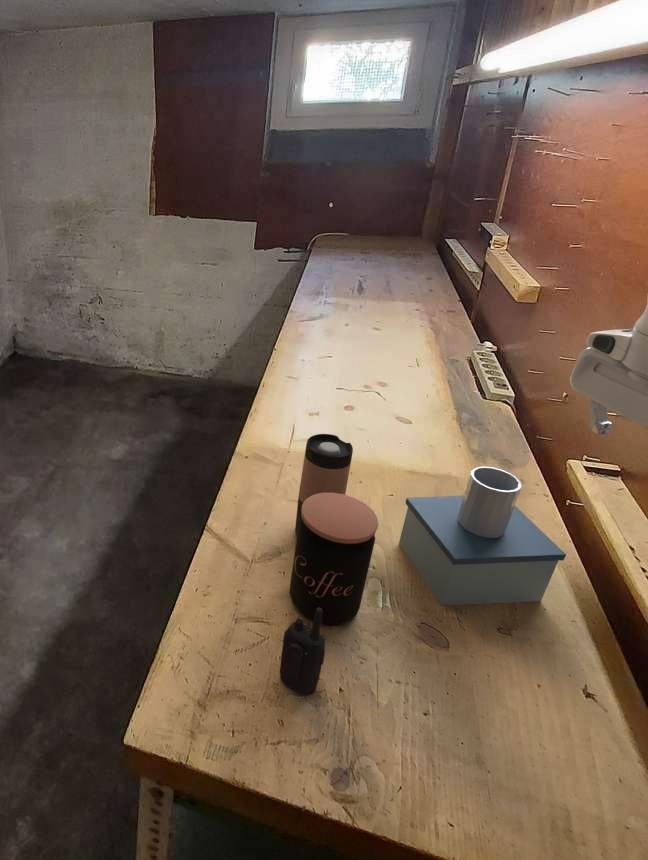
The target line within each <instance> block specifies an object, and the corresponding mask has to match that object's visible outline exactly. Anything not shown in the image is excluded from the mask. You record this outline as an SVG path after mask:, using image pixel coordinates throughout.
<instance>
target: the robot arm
mask: <svg viewBox="0 0 648 860" xmlns="http://www.w3.org/2000/svg"><path fill="white" fill-rule="evenodd" d="M646 299H647V301H646V307H645V309H644V311H643V313H642V314H641V316H640V317H639V318H638V319H637V320H636V322H635V323H634V326H633V328H626V329H625V328H623V329H620V328H619V329H609V330H608V329H607V330H599V331H593V332H589V334H588V335H587V339H586V346H587V347H586V348H585V349H583V350H582V351H581V352H580V353H579V355H578V357H577V359H576V361H575V364H574V366H573V368H572V372H571V374H570V377H569V383H570V386H571V389H572V390H573V391H574V392H576V393H578V394H581V395H582V396H584V397H586V398H587V399H589V400H590V401H589V403H588V408H589V414H590V418H591V422H590V424H589V427H588V429H589V430H590V431H591V432H593V433H595V434H597V435H598V436H601V435H608V434H609V433H610V431H611V428H612V427H613V424H614V423H613V422H611V421H610V420H609V414H608V413H609V412H608V409H609V410H610V411H612V412H614V413H616V414H618V415H620V416H622V417H624V418H626V419H627V420H629V421H631V422H633V423H635V424H637V425H639V426H641V427H643V428H645V429H646V430H648V294H647V298H646Z"/></svg>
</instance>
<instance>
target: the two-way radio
mask: <svg viewBox="0 0 648 860" xmlns="http://www.w3.org/2000/svg"><path fill="white" fill-rule="evenodd" d="M322 612H323V610H322V609H321V608H317V609H316V613H315V617H314V621H312V627H311V626H309V625H307V624H305V623H304V619H303V618H301V617H297V618H296V619H295V621H293V622H291V624H289V626H288V627H287V628H286V629H285V631H284V634H283V639H282V648H281V655H280V665H279V667H280V668H279V677H280V680H281V682H282V684H284V685H285V686H286V687H288V688H290V689H291V690H292V691H294V692H296V693H298V694H299V695H302V696H310V695H313V694H314V693H315V692H316V690H317V686H318V683H319V679H320V676H321V672H322V666H323V665H324V662H325V661H324V660H325V655H326V640H325V638H324V635H323V634H322V633H321V627H322V624H321V620H322Z"/></svg>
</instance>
